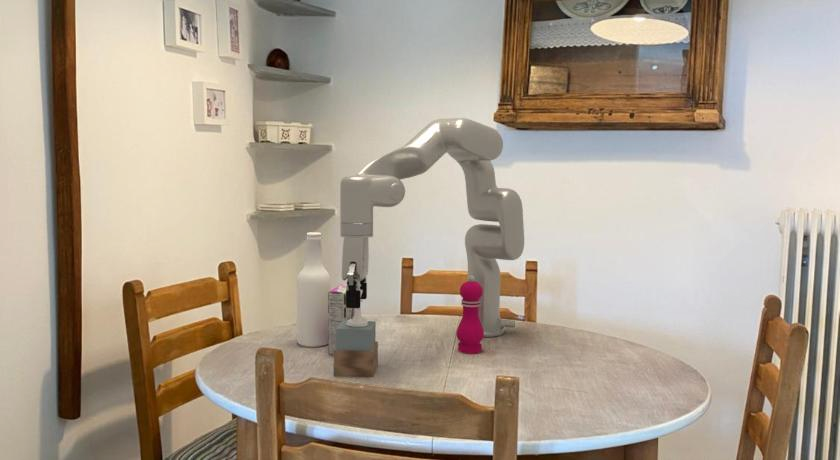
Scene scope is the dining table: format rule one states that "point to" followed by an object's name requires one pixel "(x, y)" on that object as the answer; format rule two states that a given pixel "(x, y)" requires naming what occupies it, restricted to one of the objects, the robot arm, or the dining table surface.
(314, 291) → the white bottle
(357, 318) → the chess piece
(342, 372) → the walnut base block
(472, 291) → the pepper mill
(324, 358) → the dining table surface
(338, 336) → the slate top block
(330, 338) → the candy bar box
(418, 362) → the dining table surface
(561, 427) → the dining table surface
